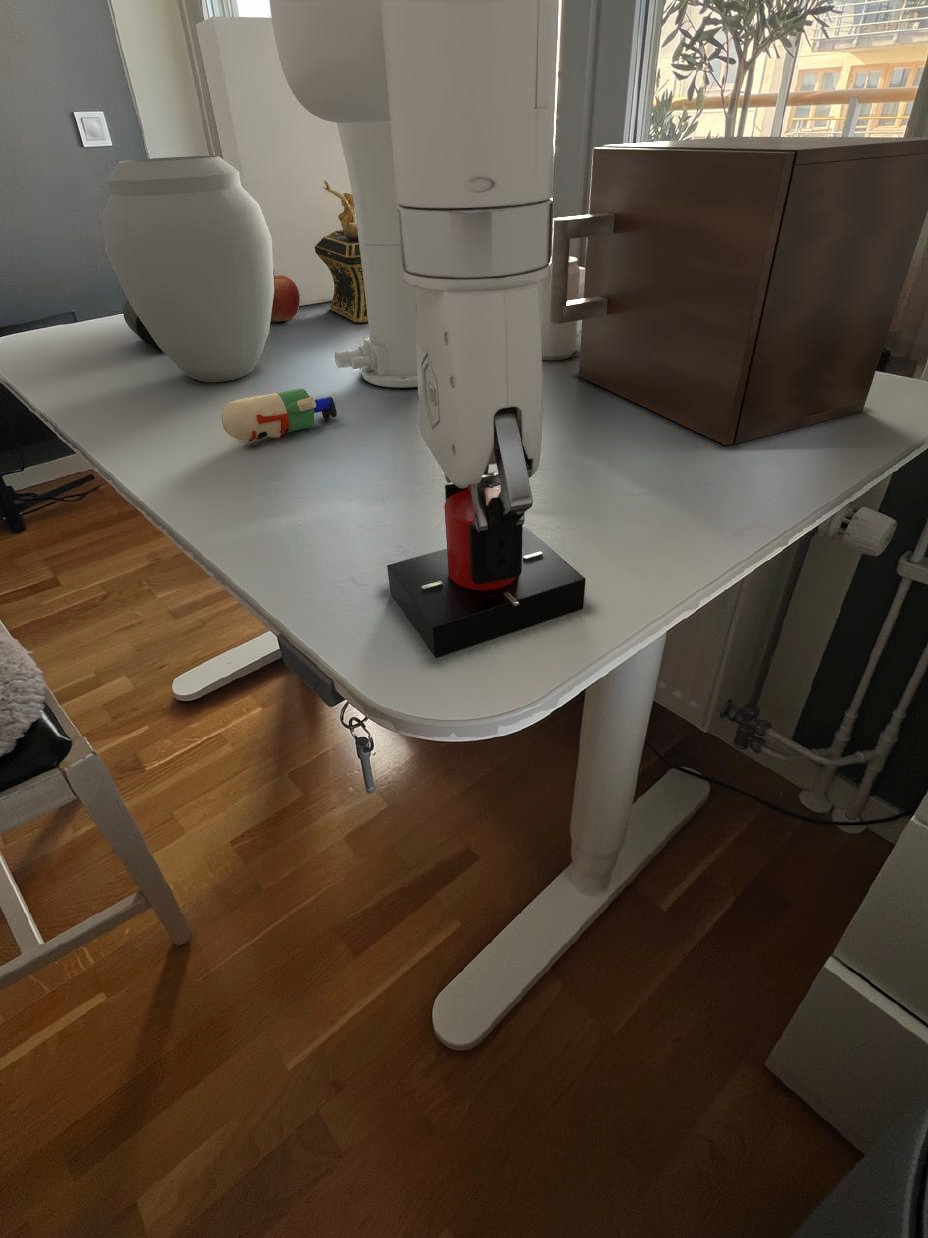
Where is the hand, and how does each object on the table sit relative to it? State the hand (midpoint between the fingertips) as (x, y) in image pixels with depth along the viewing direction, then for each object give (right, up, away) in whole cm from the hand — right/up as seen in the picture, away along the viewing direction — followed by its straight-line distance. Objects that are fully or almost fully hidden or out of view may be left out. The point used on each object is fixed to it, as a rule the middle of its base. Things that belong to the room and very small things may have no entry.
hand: (483, 553), depth 44 cm
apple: (-33, +47, +71) cm, 91 cm away
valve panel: (0, -3, +2) cm, 4 cm away
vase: (-34, +29, +48) cm, 65 cm away
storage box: (-30, +58, +85) cm, 107 cm away
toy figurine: (-21, +16, +29) cm, 40 cm away
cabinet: (+28, +22, +35) cm, 50 cm away
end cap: (-49, +38, +61) cm, 87 cm away
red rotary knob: (0, -1, +1) cm, 1 cm away
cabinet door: (+16, +19, +30) cm, 39 cm away
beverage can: (+11, +32, +49) cm, 60 cm away
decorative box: (-18, +48, +72) cm, 89 cm away
